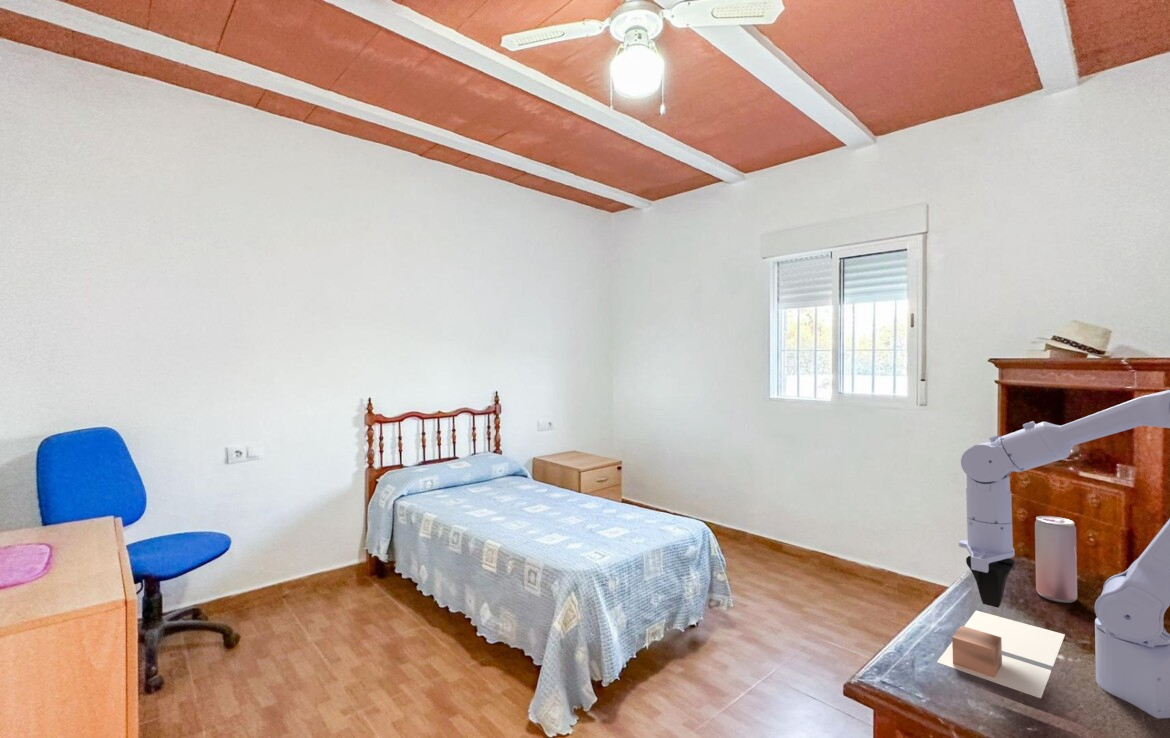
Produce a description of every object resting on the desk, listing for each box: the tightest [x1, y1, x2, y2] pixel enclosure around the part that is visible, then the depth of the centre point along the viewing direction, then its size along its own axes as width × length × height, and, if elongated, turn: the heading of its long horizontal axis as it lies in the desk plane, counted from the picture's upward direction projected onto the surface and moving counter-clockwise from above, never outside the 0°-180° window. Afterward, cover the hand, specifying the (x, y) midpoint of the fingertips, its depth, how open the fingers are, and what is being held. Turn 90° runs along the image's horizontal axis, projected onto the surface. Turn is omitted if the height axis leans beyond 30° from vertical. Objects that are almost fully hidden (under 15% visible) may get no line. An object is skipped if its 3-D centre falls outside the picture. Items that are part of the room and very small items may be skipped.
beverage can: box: [1034, 515, 1078, 604], centre depth 102 cm, size 6×6×15 cm
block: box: [951, 625, 1002, 678], centre depth 79 cm, size 5×5×4 cm
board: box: [936, 610, 1066, 699], centre depth 83 cm, size 24×12×1 cm, turn 132°
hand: (991, 604), depth 84 cm, fingers closed
